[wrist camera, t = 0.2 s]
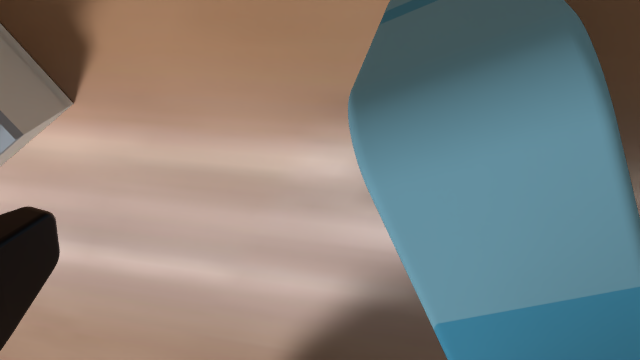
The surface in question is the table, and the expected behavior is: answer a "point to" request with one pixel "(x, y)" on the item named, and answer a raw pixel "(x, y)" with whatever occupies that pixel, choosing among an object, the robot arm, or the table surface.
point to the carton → (26, 93)
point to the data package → (502, 178)
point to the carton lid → (8, 133)
